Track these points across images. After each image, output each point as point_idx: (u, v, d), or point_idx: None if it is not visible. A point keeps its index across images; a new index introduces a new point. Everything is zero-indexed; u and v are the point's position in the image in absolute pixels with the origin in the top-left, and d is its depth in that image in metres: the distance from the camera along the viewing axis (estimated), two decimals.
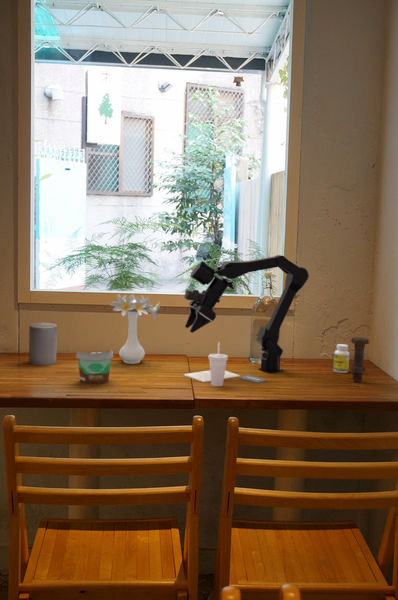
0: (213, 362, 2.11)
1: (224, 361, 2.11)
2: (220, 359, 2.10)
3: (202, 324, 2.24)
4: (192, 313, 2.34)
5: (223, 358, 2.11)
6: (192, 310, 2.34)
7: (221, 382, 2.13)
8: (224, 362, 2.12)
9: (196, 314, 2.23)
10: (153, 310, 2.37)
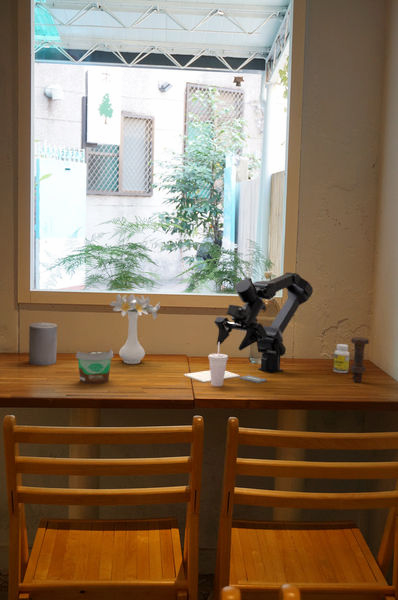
0: (213, 362, 2.11)
1: (224, 361, 2.11)
2: (220, 359, 2.10)
3: (251, 342, 2.16)
4: (223, 331, 2.22)
5: (223, 358, 2.11)
6: (223, 327, 2.22)
7: (221, 382, 2.13)
8: (224, 362, 2.12)
9: (248, 331, 2.14)
10: (153, 310, 2.37)
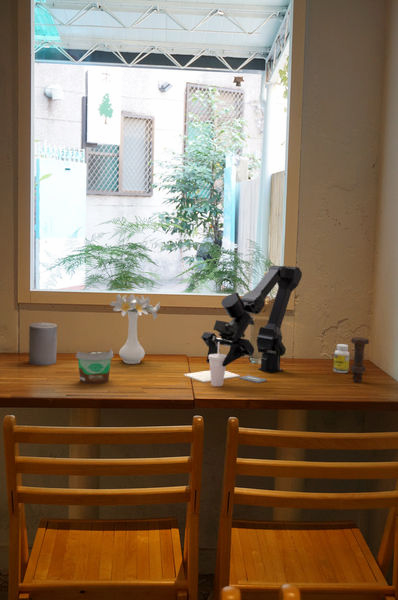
0: (213, 362, 2.11)
1: None
2: (220, 359, 2.10)
3: (235, 358, 2.12)
4: (213, 347, 2.17)
5: (223, 358, 2.11)
6: (213, 344, 2.17)
7: (221, 382, 2.13)
8: None
9: (232, 347, 2.11)
10: (153, 310, 2.37)
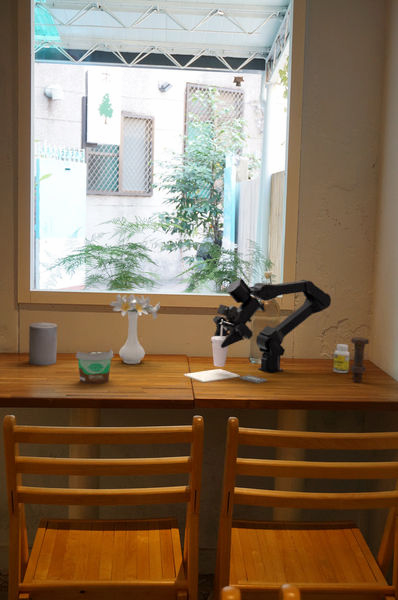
0: (213, 343, 2.25)
1: None
2: (219, 341, 2.23)
3: (234, 341, 2.23)
4: (219, 330, 2.30)
5: (222, 340, 2.23)
6: (220, 327, 2.30)
7: (221, 363, 2.26)
8: None
9: (230, 330, 2.22)
10: (153, 310, 2.37)
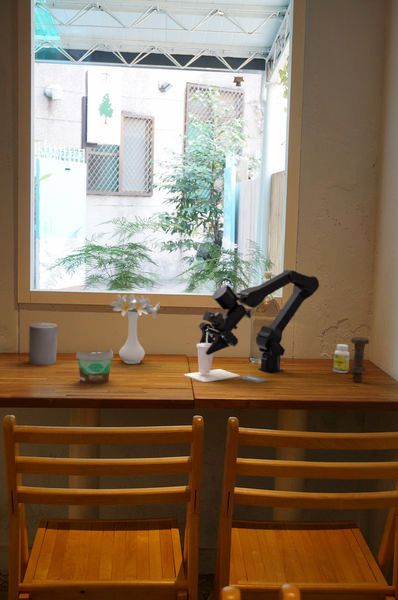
0: (198, 350, 2.22)
1: None
2: (204, 348, 2.21)
3: (219, 348, 2.21)
4: (205, 336, 2.27)
5: (207, 347, 2.21)
6: None
7: (206, 370, 2.23)
8: None
9: (216, 337, 2.20)
10: (153, 310, 2.37)
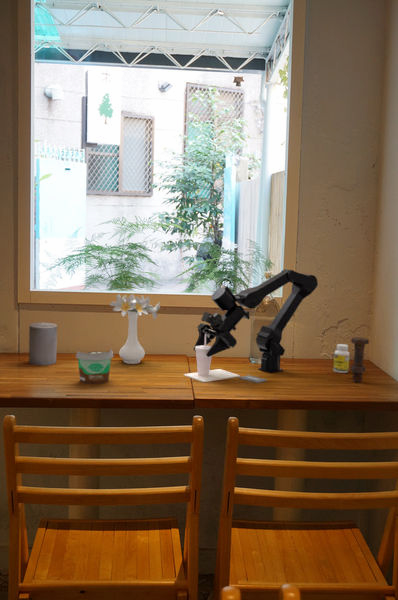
0: (197, 353, 2.23)
1: (207, 352, 2.22)
2: (203, 350, 2.21)
3: (220, 349, 2.20)
4: (202, 337, 2.28)
5: (206, 349, 2.21)
6: (202, 334, 2.28)
7: (205, 372, 2.23)
8: None
9: (216, 338, 2.18)
10: (153, 310, 2.37)
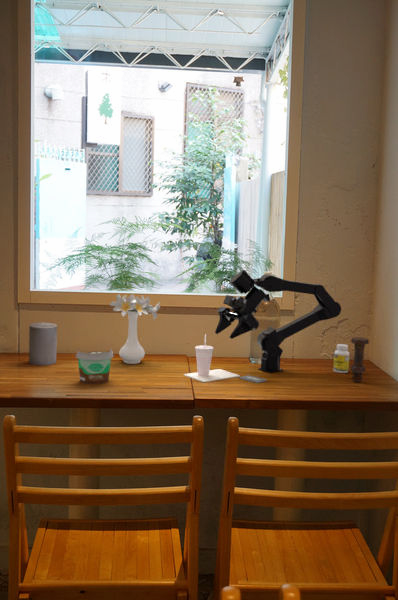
0: (197, 353, 2.23)
1: (207, 352, 2.22)
2: (202, 350, 2.21)
3: (243, 331, 2.25)
4: (223, 320, 2.33)
5: (206, 349, 2.21)
6: (223, 317, 2.33)
7: (205, 372, 2.23)
8: (207, 353, 2.22)
9: (239, 321, 2.24)
10: (153, 310, 2.37)
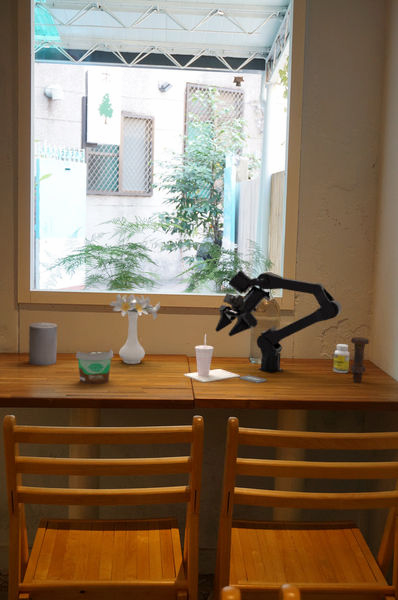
0: (197, 353, 2.23)
1: (207, 352, 2.22)
2: (202, 350, 2.21)
3: (241, 329, 2.29)
4: (223, 318, 2.37)
5: (206, 349, 2.21)
6: (224, 315, 2.37)
7: (205, 372, 2.23)
8: (207, 353, 2.22)
9: (238, 319, 2.27)
10: (153, 310, 2.37)
